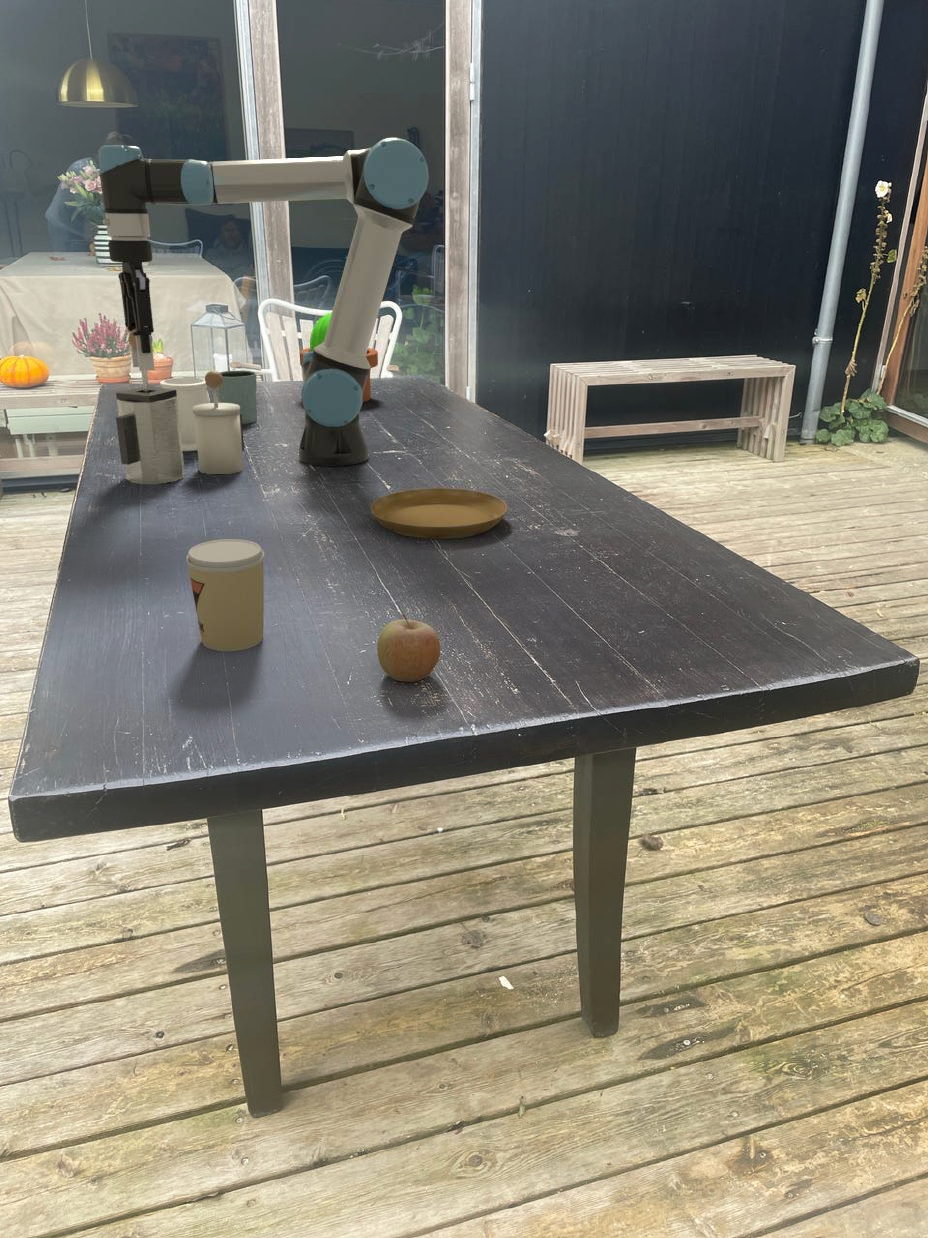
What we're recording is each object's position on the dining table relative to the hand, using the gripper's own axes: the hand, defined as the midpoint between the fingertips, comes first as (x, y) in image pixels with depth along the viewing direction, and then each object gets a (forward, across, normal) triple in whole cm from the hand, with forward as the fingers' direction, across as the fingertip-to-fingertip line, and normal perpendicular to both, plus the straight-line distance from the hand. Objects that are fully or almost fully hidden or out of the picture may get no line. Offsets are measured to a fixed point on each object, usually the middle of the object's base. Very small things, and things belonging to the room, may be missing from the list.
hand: (143, 368), depth 185 cm
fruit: (+22, +104, +3) cm, 107 cm away
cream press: (+22, -1, +15) cm, 26 cm away
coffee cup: (+22, +84, -12) cm, 88 cm away
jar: (+22, -22, +14) cm, 34 cm away
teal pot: (+22, -46, +33) cm, 61 cm away
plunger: (+13, 0, 0) cm, 13 cm away
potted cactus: (+22, -62, +69) cm, 95 cm away
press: (+22, +1, -1) cm, 22 cm away
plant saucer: (+22, +53, +36) cm, 68 cm away
